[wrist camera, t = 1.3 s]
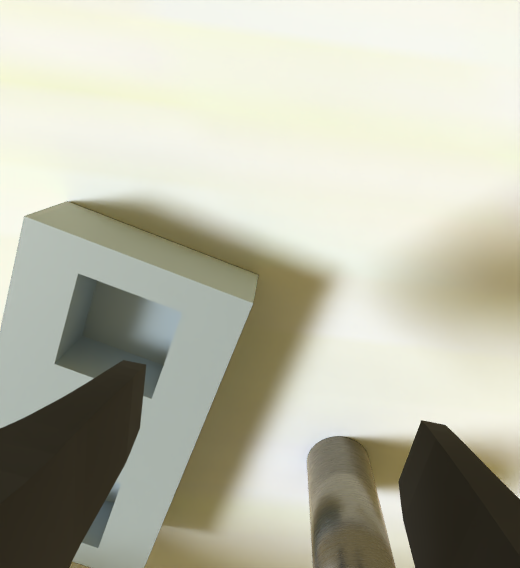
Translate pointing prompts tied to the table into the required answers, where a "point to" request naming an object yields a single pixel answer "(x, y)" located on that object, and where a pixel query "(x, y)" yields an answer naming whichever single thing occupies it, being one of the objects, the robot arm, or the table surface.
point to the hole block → (121, 350)
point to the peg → (345, 508)
